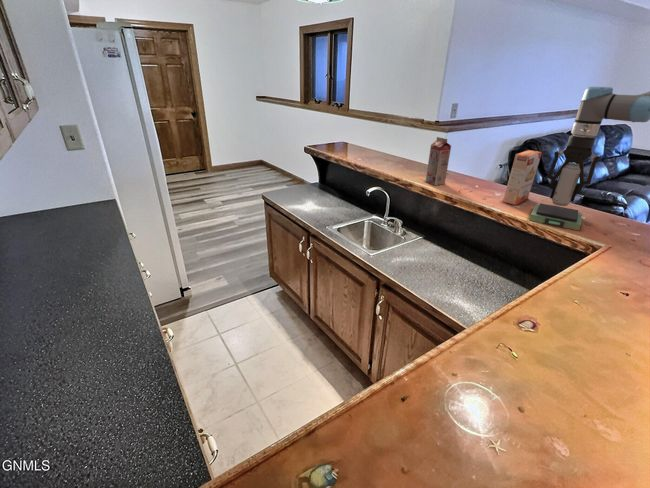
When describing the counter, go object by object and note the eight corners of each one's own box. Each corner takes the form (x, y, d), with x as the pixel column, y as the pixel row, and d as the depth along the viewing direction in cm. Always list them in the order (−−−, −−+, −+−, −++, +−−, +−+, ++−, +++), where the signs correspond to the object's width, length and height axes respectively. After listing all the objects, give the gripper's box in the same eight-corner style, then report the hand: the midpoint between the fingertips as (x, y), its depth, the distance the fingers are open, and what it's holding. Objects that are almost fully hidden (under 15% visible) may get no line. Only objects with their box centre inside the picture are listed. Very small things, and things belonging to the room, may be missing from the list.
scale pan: (577, 212, 134) (578, 210, 134) (576, 221, 125) (577, 219, 125) (539, 204, 141) (540, 203, 140) (536, 213, 132) (536, 211, 132)
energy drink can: (552, 200, 135) (565, 161, 129) (570, 203, 132) (584, 164, 125) (549, 203, 131) (562, 164, 124) (567, 207, 128) (582, 167, 121)
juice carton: (434, 185, 172) (442, 139, 162) (425, 181, 178) (432, 137, 168) (444, 183, 175) (452, 138, 165) (435, 180, 180) (442, 136, 170)
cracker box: (516, 206, 147) (530, 156, 138) (502, 202, 151) (514, 153, 142) (529, 199, 156) (542, 151, 146) (515, 195, 160) (527, 149, 150)
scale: (580, 218, 135) (582, 212, 134) (578, 231, 124) (581, 225, 123) (533, 209, 144) (535, 204, 142) (528, 221, 132) (530, 215, 131)
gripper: (550, 134, 122) (531, 196, 133) (617, 140, 113) (592, 207, 123) (552, 131, 128) (534, 191, 138) (616, 137, 118) (592, 201, 129)
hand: (561, 199), depth 131 cm, fingers closed on energy drink can, 6 cm apart
